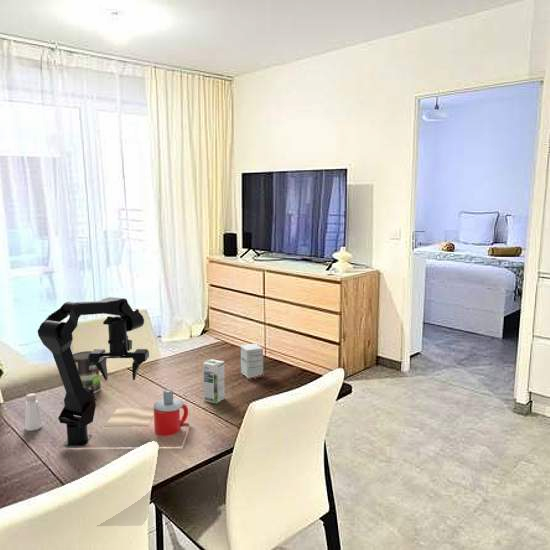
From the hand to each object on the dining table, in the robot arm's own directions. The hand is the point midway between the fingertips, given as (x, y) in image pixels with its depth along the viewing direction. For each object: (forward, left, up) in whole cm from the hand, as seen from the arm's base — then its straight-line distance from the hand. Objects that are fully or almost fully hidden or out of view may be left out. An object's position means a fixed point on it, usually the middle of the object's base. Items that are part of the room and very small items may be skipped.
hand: (120, 380), depth 161 cm
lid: (-10, -18, -5) cm, 21 cm away
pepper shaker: (-8, +26, -13) cm, 30 cm away
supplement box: (+36, -43, -13) cm, 57 cm away
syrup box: (+12, -30, -13) cm, 35 cm away
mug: (-10, -19, -13) cm, 25 cm away
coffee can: (+22, +20, -13) cm, 32 cm away
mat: (-2, -4, -12) cm, 13 cm away
